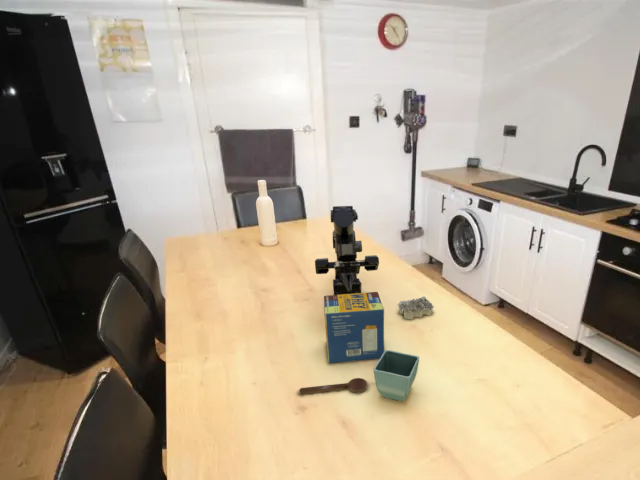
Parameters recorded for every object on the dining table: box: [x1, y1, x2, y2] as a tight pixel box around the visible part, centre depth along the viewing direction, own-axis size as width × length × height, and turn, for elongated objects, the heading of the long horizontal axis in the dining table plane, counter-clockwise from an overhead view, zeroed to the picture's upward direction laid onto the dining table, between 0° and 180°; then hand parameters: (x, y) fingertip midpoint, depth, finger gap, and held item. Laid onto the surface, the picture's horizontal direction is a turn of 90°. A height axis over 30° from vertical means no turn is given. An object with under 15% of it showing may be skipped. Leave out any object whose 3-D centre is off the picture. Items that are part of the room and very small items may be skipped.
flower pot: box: [373, 349, 420, 402], centre depth 97 cm, size 9×9×9 cm
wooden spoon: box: [298, 377, 368, 395], centre depth 100 cm, size 16×5×1 cm, turn 100°
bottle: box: [255, 179, 279, 247], centre depth 192 cm, size 8×8×30 cm
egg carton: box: [397, 296, 435, 320], centre depth 134 cm, size 11×8×4 cm
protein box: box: [323, 291, 385, 364], centre depth 112 cm, size 10×15×16 cm
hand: (349, 291), depth 119 cm, fingers closed
